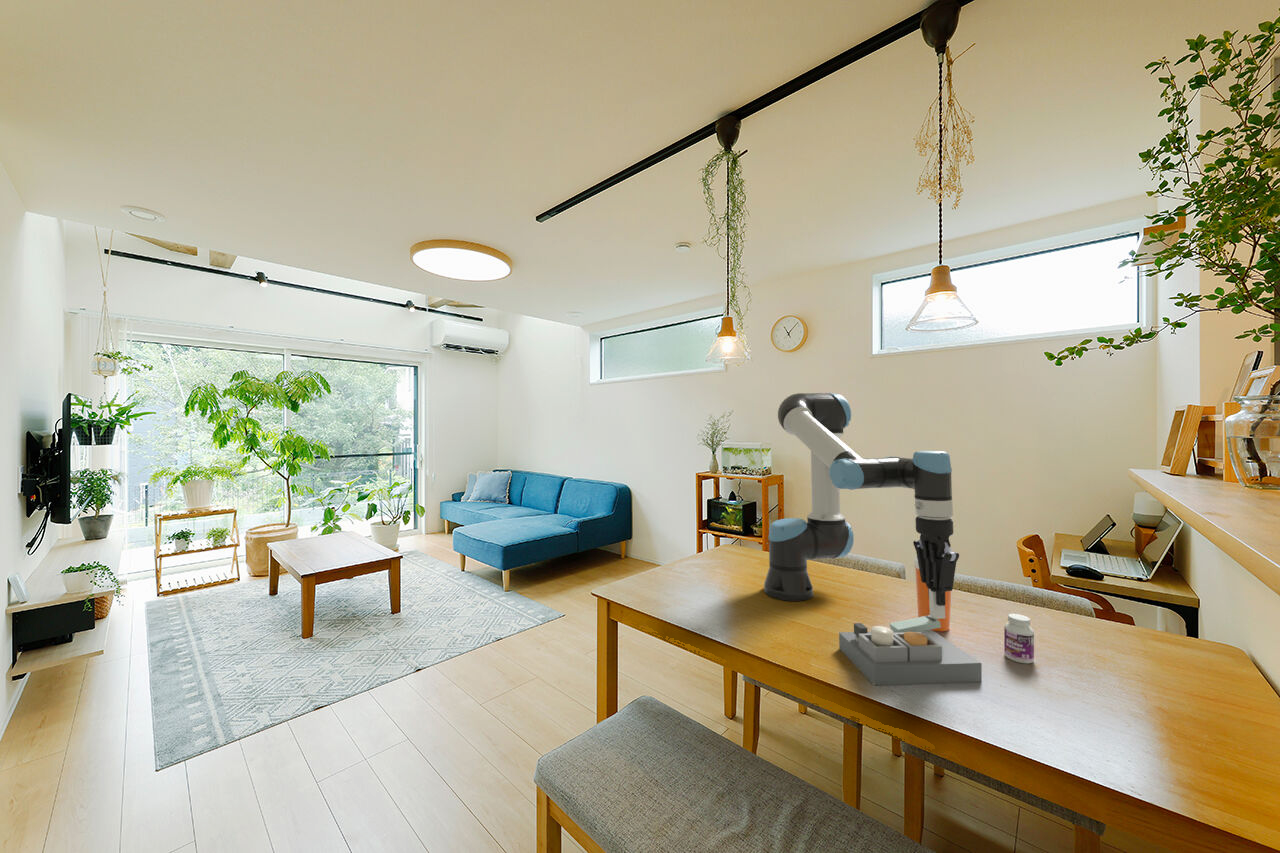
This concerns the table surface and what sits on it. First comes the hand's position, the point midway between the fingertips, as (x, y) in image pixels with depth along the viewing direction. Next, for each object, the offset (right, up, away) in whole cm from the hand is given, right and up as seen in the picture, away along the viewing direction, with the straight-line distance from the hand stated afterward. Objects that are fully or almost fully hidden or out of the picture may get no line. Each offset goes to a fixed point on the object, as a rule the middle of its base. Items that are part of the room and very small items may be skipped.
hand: (937, 617), depth 110 cm
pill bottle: (+18, -9, -2) cm, 20 cm away
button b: (-9, -4, -7) cm, 12 cm away
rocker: (-5, -2, 0) cm, 6 cm away
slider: (-18, -4, -1) cm, 19 cm away
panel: (-10, -9, -4) cm, 14 cm away
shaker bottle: (+9, -9, +16) cm, 21 cm away
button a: (-17, -3, -7) cm, 18 cm away
